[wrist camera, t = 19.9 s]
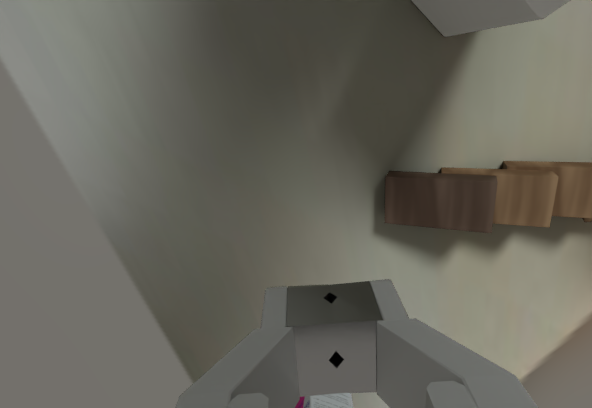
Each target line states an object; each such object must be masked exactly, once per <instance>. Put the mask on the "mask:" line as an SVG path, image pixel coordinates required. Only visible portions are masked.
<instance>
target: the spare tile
mask: <svg viewBox="0 0 592 408" xmlns="http://www.w3.org/2000/svg"><path fill="white" fill-rule="evenodd" d="M497 183H498V182H497V177H496V176H490V175H468V174H445V173H422V172H400V171H389V172H388V174H387V175H386V177H385V223H390V224H401V225H411V226H422V227H432V228H443V229H453V230H464V231H474V232H484V233H492V225H493V217H494V208H495V200H496V192H497Z"/></svg>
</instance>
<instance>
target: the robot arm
mask: <svg viewBox="0 0 592 408" xmlns="http://www.w3.org/2000/svg"><path fill="white" fill-rule="evenodd" d="M363 392H377V394H378V395H379V396H380V398H381V399H382V400H383V401H384V402H385V403H386V404H387V405H388V406H389V407H390V408H538V406H537V405H536V404H535V402H534V401H533V399H532V398H531V397H530V395H529V394H528V392H527V391H526V390H525V388H524V387H523V386H522V384H521V383H520V381H519V380H518V379H517V377H516V376H515V375H514V374H512V373H510V372H508V371H507V370H505V369H503V368H501V367H500V366H498V365H496V364H494V363H493V362H491V361H489V360H487V359H486V358H484V357H482V356H480V355H479V354H477V353H475V352H473V351H472V350H470V349H468V348H466V347H465V346H463V345H461V344H459V343H458V342H456V341H454V340H452V339H451V338H449V337H447V336H445V335H444V334H442V333H440V332H438V331H437V330H435V329H433V328H431V327H430V326H428V325H426V324H424V323H423V322H421V321H419V320H417V319H416V318H415V319H409V317H408V315H407V313H406V311H405V308H404V306H403V304H402V302H401V300H400V298H399V296H398V294H397V291H396V289H395V287H394V285H393V283H392V281H391V280H390V279H384V280H375V281H365V282H354V283H344V284H333V285H328V284H327V285H306V286H288V287H286V286H282V287H271V288H267V289H266V290H265V296H264V304H263V312H262V320H261V328H260V329H254V330H253V331H252V332H251V333H250V334H248V335H247V336H246V337H245V338H244V339H243V340H242V341H241V342H240V343H238V344H237V345H236V346H235V347H234V348H233V349H232V350H231V351H229V352H228V353H227V354H226V355H225V356H224V357H223V358H222V359H220V360H219V361H218V362H217V363H216V364H215V365H214V366H213V367H212V368H210V369H209V370H208V371H207V372H206V373H205V374H204V375H203V376H201V377H200V378H199V379H198V380H197V381H196V382H195V383H194V384H192V385H191V386H190V387H189V388H188V389H187V390H186V391H185V392H184V393H182V394H181V395H180V396H179V400H178V402H177V405H176V408H295V406H296V405H297V403H298V401H299V400H300V397H304V396H315V395H325V394H336V393H363Z"/></svg>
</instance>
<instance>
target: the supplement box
mask: <svg viewBox="0 0 592 408" xmlns="http://www.w3.org/2000/svg"><path fill="white" fill-rule="evenodd" d="M295 408H353V402H352V396H351V393H336V394H325V395H315V396H304V397H300V400H299V401H298V403H297V405H296V406H295Z"/></svg>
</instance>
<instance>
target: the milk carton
mask: <svg viewBox="0 0 592 408" xmlns="http://www.w3.org/2000/svg"><path fill="white" fill-rule="evenodd" d="M411 1H412V2H413V3H414V4H415V5H416V6H417V7H418V8H419V10H420V11H421V12H422V13H423V14H424V15H425V16H426V17H427V18H428V20H429V21H430V22H431V23H432V24H433V25H434V26H435V27H436V28H437V29H438V31H439V32H440V33H441V34H442V35H443V36H445V37H448V36H453V35H459V34H464V33H469V32H475V31H480V30H485V29H491V28H496V27H502V26H507V25H512V24H518V23H523V22H528V21H534V20H539V19H544V18H545V17H547V16H548V15H550V14H551V13H552V12H554V11H555V10H557V9H558V8H560V7H561V6H563V5H564V4H566V3H567V2H569V1H570V0H411Z"/></svg>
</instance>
